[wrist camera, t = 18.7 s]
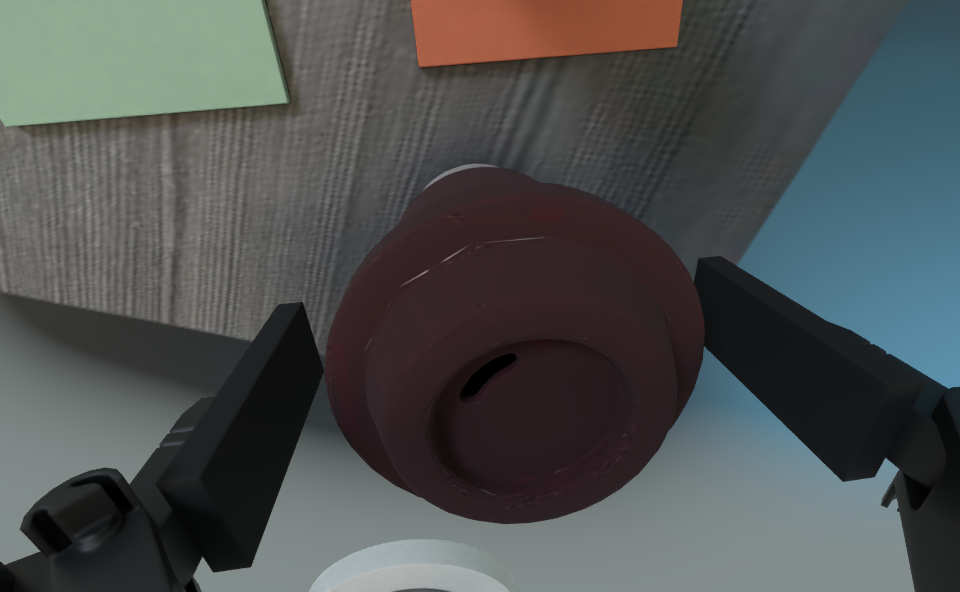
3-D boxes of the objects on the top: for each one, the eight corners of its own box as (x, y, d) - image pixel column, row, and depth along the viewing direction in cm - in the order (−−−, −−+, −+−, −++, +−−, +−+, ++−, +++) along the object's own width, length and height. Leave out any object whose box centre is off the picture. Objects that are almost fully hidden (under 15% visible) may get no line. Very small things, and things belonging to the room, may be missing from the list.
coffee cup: (572, 291, 25) (730, 522, 12) (411, 325, 25) (383, 597, 12) (555, 115, 21) (779, 160, 7) (358, 157, 21) (215, 281, 7)
